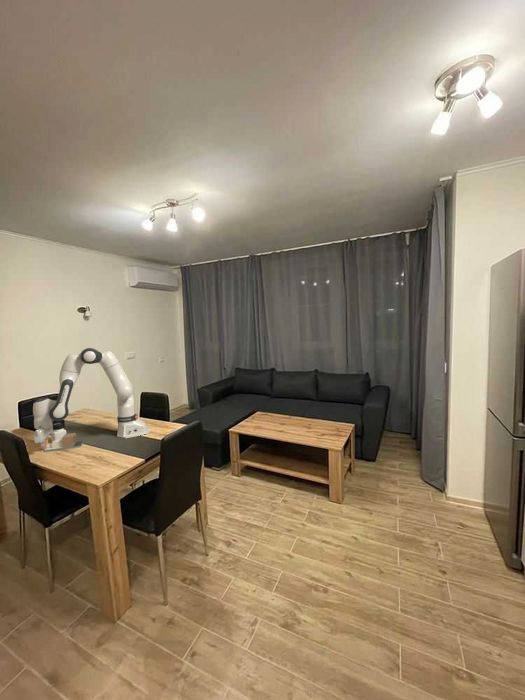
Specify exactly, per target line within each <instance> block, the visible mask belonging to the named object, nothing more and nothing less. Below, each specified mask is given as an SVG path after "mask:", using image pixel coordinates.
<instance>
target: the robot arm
mask: <svg viewBox="0 0 525 700" xmlns="http://www.w3.org/2000/svg"><path fill="white" fill-rule="evenodd" d="M86 364H87V365H95V364H99V365H100V366H101V368H102V369H103V371H104V373H105V375H106V376H107V378H108V380H109V382H110V384H111V386H112V388H113V390H114V392H115V394H116V396H117V397H116V400H117V404H116V405H117V407H116V408H117V420H116V421H117V424H118V425H117V434H116V437H118V438H123V439H129V438H136V437H139V436H140V435H141V436H145V435H144V434H146V435H148V434H149V433H150V432H151V429H150V427H148V426H147V423H146V422H145V421H144V420H141V419H139V416H138V415H139V414H138V413H135V397H134V396H135V395H134V384H133V383H132V382H131V381H130V380H129V378H128V376H127V374H126V372H125V370H124V368H123V367H122V364H121V363H120V361H119V360H118V358H117V356H116V355H115V354H114V353H113V352H112V351H111V350H104V351H101V352H100V351H99V350H97V349H96V348H94V347H86V348H84V349H83V350H81V352H80V353H79V354H76V353H75V354H73V353H71V354H68V355H66V358H65V359H64V361H63V363H62V365H61V368H60V371H59V390H58V395H57V398H56V400H53V399H50V398H48V397H45V398H39V399H37V400H35V401H34V402H33V404H32V405H33V406H32V415H33V416H34V417H33V418H34V419H33V425H34V426H33V427H34V429H36V430H35V431H34V434H33V437H34V438H33V440H34V443H35V444H40V447H41V446H45V442H44V441H45V439H48V440H49V436H51V433H52V431H53V425H54V424H53V423H54V421H55V422H60V421H64V420H65V419H67V418H68V416H69V408H68V407H69V400H70V397H71V393H72V391H73V389H74V386H75V385H76V383H77V381H78V379H79V377H80V375H81V371H82V367H83V366H84V365H86Z"/></svg>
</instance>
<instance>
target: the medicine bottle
mask: <svg viewBox="0 0 525 700" xmlns="http://www.w3.org/2000/svg"><path fill="white" fill-rule="evenodd" d="M65 434H67V430H66V429H65V428H64V423H62V422H58V423H54V424H53V431H52V433H51V434H50V441H51V443H52V442H53V441H54V440H62V437H63V436H64V435H65Z"/></svg>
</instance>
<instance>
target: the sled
mask: <svg viewBox="0 0 525 700" xmlns="http://www.w3.org/2000/svg"><path fill="white" fill-rule="evenodd" d="M44 442H45V446H41V445H40V447H41V448H40V449H41V450H45V449H46V448H51V447H52V448H55V447H62V446H63V444H62V440H54V441H53V442H52V441H51V443H49V438H48V439H45V441H44Z"/></svg>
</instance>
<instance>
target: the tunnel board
mask: <svg viewBox="0 0 525 700" xmlns="http://www.w3.org/2000/svg"><path fill="white" fill-rule="evenodd" d="M62 444H63V446H62V447H55V448H52V447H51V448H45V449H43V450H44V451H43V452H44V453H47V452H48V453H49V452H53V451H54V452H55V451H61V450H69V449H77V448H81V447H82V446H83V444H84V440H82V441H77V433H76V432H72V433H71V432H70V433H66V434H65V435H64V436H63V437H62Z"/></svg>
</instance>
